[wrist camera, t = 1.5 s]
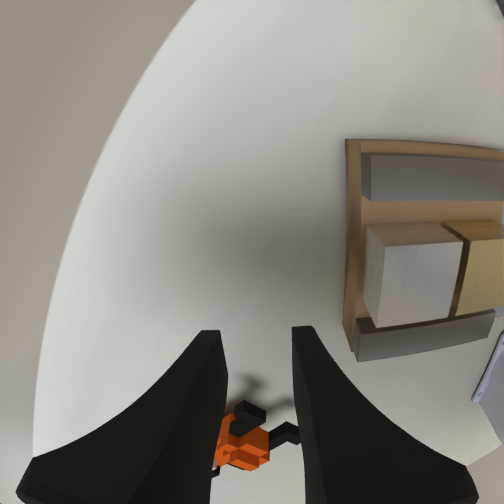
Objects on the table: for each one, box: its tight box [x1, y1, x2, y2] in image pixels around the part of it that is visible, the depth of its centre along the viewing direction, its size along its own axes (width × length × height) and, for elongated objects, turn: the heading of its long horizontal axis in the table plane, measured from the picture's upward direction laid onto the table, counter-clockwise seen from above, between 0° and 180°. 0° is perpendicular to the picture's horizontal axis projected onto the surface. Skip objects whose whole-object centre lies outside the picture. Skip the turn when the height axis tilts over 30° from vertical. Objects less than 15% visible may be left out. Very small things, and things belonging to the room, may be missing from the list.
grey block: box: [361, 221, 463, 328], centre depth 14 cm, size 4×4×3 cm
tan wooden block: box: [441, 220, 504, 316], centre depth 13 cm, size 4×4×3 cm
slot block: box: [342, 139, 504, 362], centre depth 16 cm, size 12×10×4 cm
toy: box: [212, 400, 301, 478], centre depth 23 cm, size 8×6×15 cm
